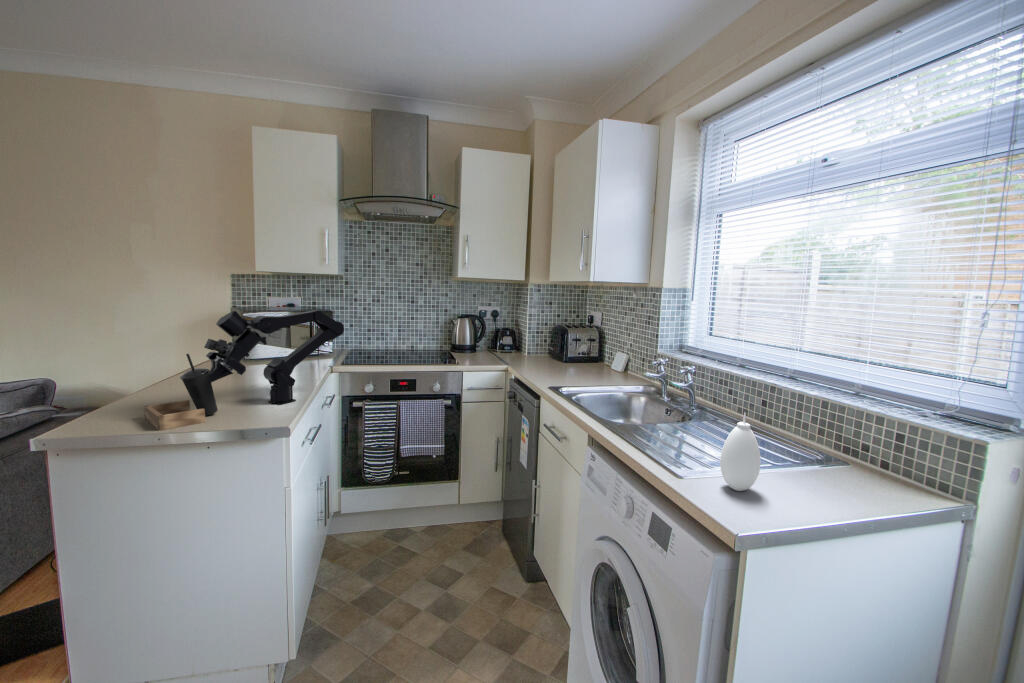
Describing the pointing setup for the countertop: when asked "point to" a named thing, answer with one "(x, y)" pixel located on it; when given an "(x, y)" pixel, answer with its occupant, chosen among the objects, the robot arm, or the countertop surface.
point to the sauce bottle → (740, 457)
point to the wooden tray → (173, 415)
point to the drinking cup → (200, 388)
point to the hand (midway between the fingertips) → (204, 383)
